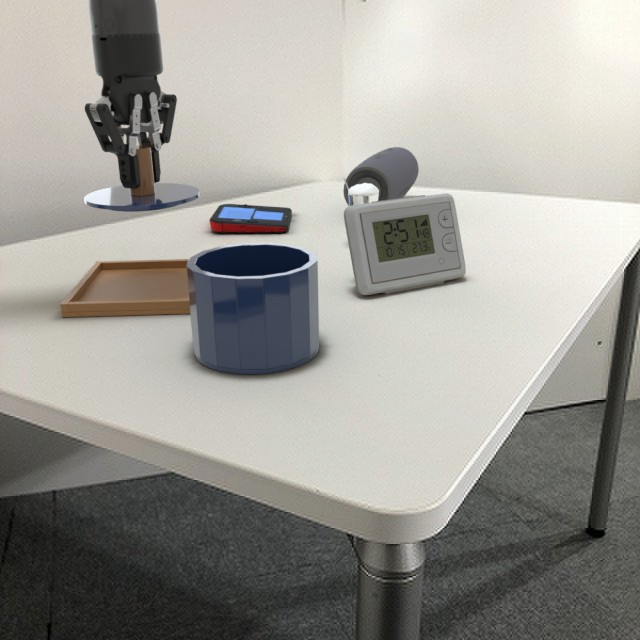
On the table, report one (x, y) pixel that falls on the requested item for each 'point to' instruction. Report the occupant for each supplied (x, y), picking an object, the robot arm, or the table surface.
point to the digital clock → (404, 243)
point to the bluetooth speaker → (386, 173)
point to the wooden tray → (130, 289)
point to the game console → (250, 219)
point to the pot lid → (142, 191)
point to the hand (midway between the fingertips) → (141, 184)
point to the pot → (254, 307)
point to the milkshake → (362, 193)
